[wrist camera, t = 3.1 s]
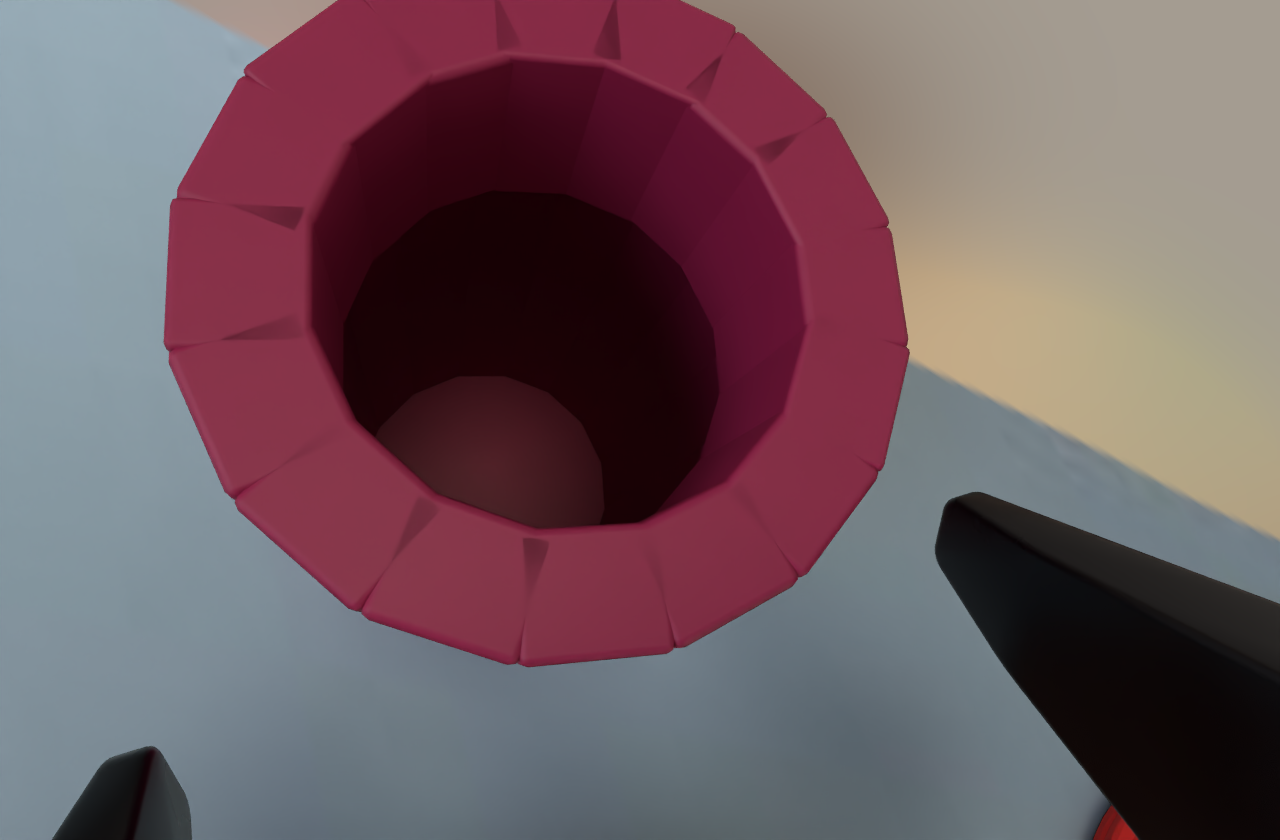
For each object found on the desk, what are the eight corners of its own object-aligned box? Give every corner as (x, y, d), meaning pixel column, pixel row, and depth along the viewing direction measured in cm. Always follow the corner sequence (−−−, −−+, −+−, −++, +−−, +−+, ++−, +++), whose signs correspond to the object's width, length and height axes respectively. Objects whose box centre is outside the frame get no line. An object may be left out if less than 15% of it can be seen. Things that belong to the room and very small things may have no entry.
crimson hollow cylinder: (667, 486, 20) (1021, 285, 8) (492, 694, 18) (612, 845, 6) (477, 314, 20) (547, -154, 8) (278, 504, 18) (-38, 265, 6)
